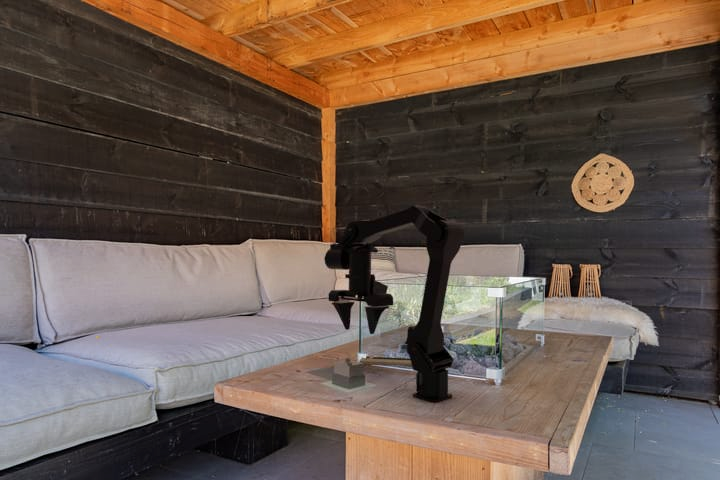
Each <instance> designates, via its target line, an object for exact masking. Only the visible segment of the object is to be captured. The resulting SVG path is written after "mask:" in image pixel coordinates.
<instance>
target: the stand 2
mask: <svg viewBox="0 0 720 480" xmlns="http://www.w3.org/2000/svg"><path fill="white" fill-rule="evenodd" d="M319 385H322V386H324V387H325V386H326V387H329V388H332V389H335V390H337V391H340V392H343V393H346V394H349V393H354V392H358V391H361V390H362V391H363V390H366V389H370V388H372V387H377V386H378V385H377V384H374V383H370V382H367V381H365V385H364V386H360V387H356V388H352V389H347V388H344V387H341V386H338V385H334V384H332V380H329V381H325V382H320V383H319Z"/></svg>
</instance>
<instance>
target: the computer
mask: <svg viewBox="0 0 720 480" xmlns="http://www.w3.org/2000/svg"><path fill="white" fill-rule="evenodd" d="M406 358H407V359H406ZM409 358H410V357H409ZM409 358H408V357H394V358H392V357H391V358H390V357H389V356H386V357H384V356H374V357H373V356H372V357H370V356H366V358H363V357H361V358H360V360H359V362H360V363H364V365H372V366H376V365H377V366H399V367H401V366H404V367H408V368H412V369H413V367H412V363H411V360H410V359H409Z"/></svg>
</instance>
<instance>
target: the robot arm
mask: <svg viewBox="0 0 720 480" xmlns="http://www.w3.org/2000/svg"><path fill="white" fill-rule="evenodd" d="M413 226H415V227H416V228H417V230H418V231H419V233H422V234H423V236H425V247H426V252H427V254H428V258H429V259H428V260H429V261H428V267H427V272H426V273H427V274H426V279H425V284H424V290H423V296H422V301H421V306H420V307H421V308H420V313H419V318H418V321H417V323H416V325H412V326H409V327H408V328H407V336H406V340H405V343H404V345H406V354H407V355H408V356H409V358H410V360H411V363H412V367H413V368H412V367H411V368H412V371H416V372H417V373H416V374H415V376H416V377H415V379H416V380H415V382H416V383H415V385H416V386H415V387H416V388H415V391H416V392H414V393H412V397H415V398H417V399H422V400H426V401H428V402H432V403H438V402H440V401H444V400H447V399H450V398H452V397H453V394H452V393H449V370H448V369H450V368H452V366H453V363H454V358H453V357H452V355H451V353H449V351H448V350H447V349H446V347H445V334H444V332H443V329H442V324H441V323H442V316H443V312H444V306H445V301H446V300H445V299H446V295H447V290H448V282H449V277H450V272H451V267H452V262H453V260H454V259H455V258H456V256H457V254H458V253H459V251H460V249H461V246H462V243H463V241H464V237H465V231H464V229H463V227H462V226H461V224H459V223H458V222H456V221H450V220H448V219H447V218H445V217H442V216H441V215H440V214H437V213H435V212H433V211H432V210H430V208H428V207H426V206H423V205H416V204H415V205H411V206H409V207H408V208H407V207H406V208H404V209H402V210H399V211H396V212H392V213H390V214H386V215H384V216H381V217H377V218H374V219H359V220H352V221H349V222H348V223H347V224H346V227H345V230H344V231H343V234H342V235H341V237H340V239H339V240H338V242H337V243H336V244H335V243H331V244H330V245H329V246H330V247H329V248H328V250H327V251H326V252H325V255H324V258H323V259H324V264H325V266H326V267H327V269H330V270H341V271H342V270H345V271H348V274H347V273H346V274H344V275H345V277H344V278H345V279H348V289H332V290H330V291H329V293H328V301H329V302H331V306H332V305H333V307H334V309H335V311H336V312H337V314H338V316H339V319H340V320H341V322H342V325H343V326H344V329H345V330H346V331H348V330H350V329H351V328H350V327H351V316H352V315H351V314H352V308H353V306H354V304H355V303H356V302H364V303H366V305H367V306H364V307H365V308H364V309H365V314H366V321H367V327H368V332H369V334H370V335H375V333H376V330H377V329H376V328H377V326H378V324H379V321H380V318H381V317H382V316H381V315H382V314H383V313H384V311H386V310H387V309H390V306H394V296H393V295H392V293H387V292H388V289H389V286H388V285H387V284H384V283H382V282H379V281H377V280H376V275H375V274H372V253H373V254H374V253H378V252H379V250H378V248H376V247H375V245H373V243H374V242H375V241H377V240H380V238H381V237H382V236H383V235H386V234H389V233H392V232H395V231H400V230H402V229H406V228H409V227H413Z"/></svg>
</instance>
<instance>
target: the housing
mask: <svg viewBox="0 0 720 480" xmlns="http://www.w3.org/2000/svg"><path fill="white" fill-rule="evenodd" d="M364 365H365V364H364V363H360V361H356V360H352V359H351V358H350V357H346V358H345V359H343V360H338V361H334V362H333V367H334V373H332V380H331V381H332V384H334V385H338V386H341V387H344V388H347V389H352V388H356V387H360V386H364V385H365V382H366V374H365V373H364V369H365V368H364Z"/></svg>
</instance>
